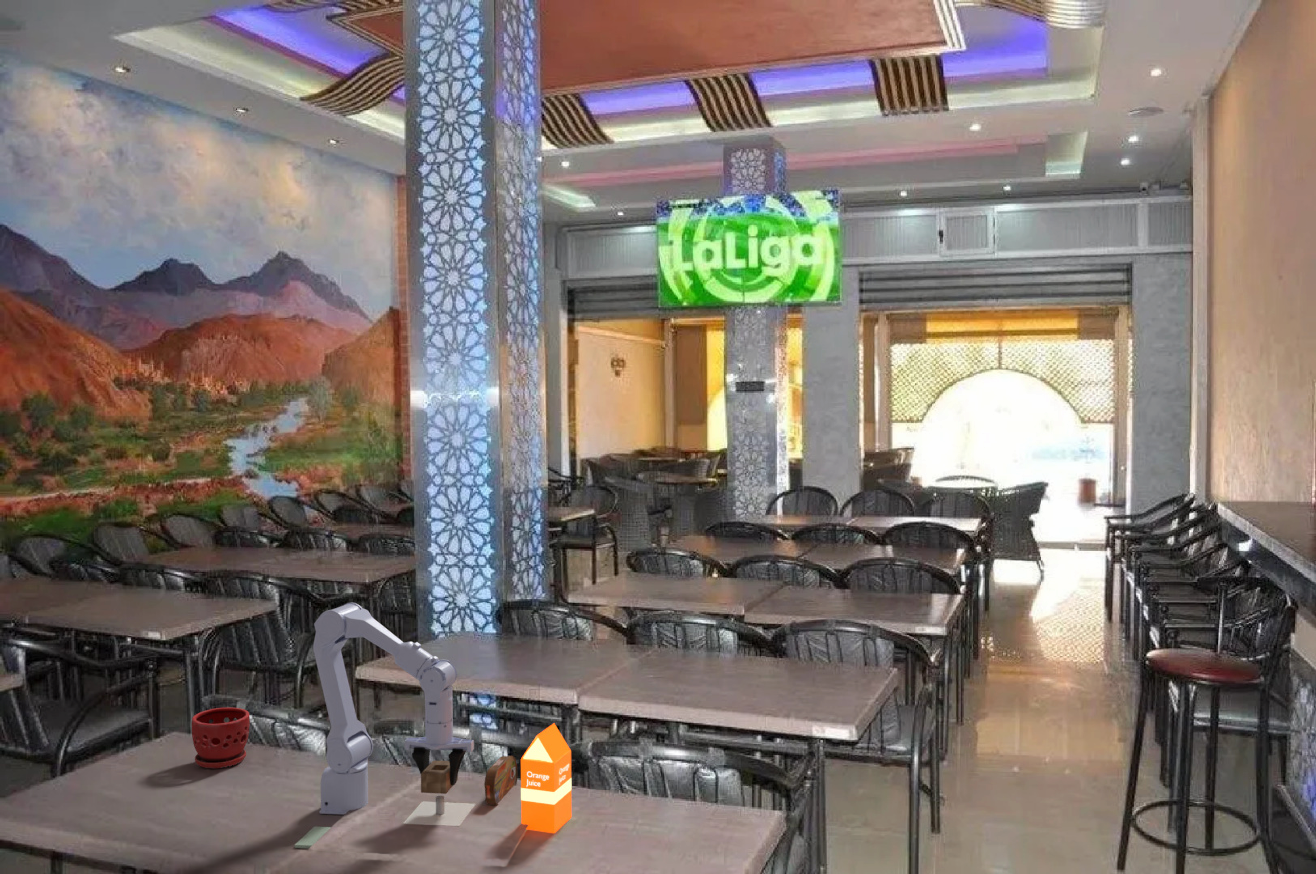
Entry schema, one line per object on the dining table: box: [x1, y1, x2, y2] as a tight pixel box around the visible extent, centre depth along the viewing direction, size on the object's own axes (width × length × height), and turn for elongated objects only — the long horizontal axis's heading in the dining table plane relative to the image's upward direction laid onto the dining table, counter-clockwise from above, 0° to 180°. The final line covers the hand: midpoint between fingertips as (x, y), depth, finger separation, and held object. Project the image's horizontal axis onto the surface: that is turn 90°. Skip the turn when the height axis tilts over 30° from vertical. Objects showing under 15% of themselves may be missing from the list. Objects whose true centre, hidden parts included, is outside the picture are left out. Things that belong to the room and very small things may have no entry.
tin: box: [483, 755, 519, 806], centre depth 236 cm, size 15×3×8 cm, turn 168°
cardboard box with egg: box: [420, 760, 459, 795], centre depth 225 cm, size 5×8×4 cm
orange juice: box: [520, 722, 573, 834], centre depth 222 cm, size 8×9×20 cm
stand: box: [402, 794, 476, 827], centre depth 225 cm, size 12×12×4 cm
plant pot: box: [191, 707, 251, 769], centre depth 259 cm, size 13×13×12 cm
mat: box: [294, 826, 332, 849], centre depth 214 cm, size 18×9×1 cm, turn 83°
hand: (439, 783), depth 225 cm, fingers closed on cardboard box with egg, 5 cm apart
